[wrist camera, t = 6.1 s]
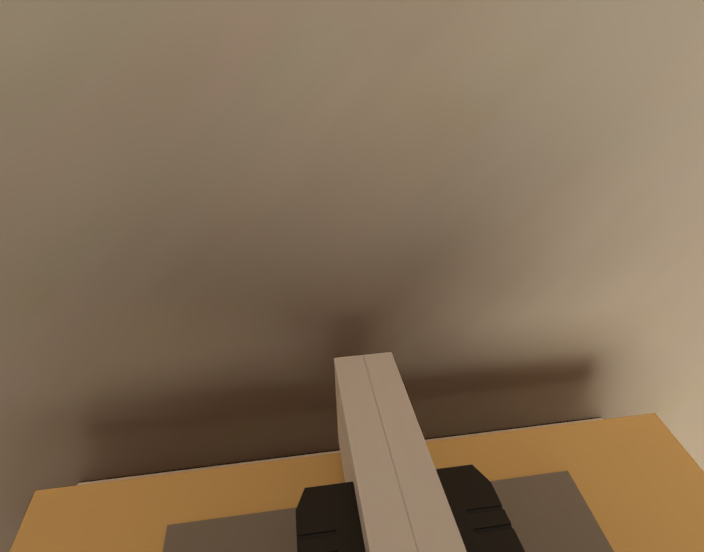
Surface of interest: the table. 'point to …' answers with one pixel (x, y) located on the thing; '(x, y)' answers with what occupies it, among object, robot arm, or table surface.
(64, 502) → the tan flat board
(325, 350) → the table surface
